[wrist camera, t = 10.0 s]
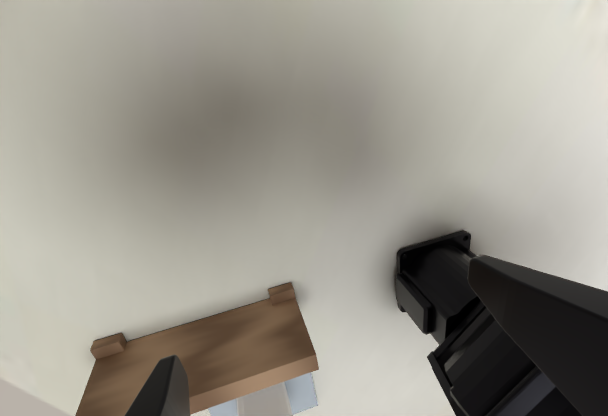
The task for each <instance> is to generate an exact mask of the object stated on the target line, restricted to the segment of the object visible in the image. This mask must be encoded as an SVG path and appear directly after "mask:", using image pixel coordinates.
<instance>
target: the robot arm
mask: <svg viewBox="0 0 608 416" xmlns="http://www.w3.org/2000/svg"><path fill="white" fill-rule="evenodd" d="M470 240H471V235H470V233H468V232H467V231H461V232H457V233H454V234H451V235H447V236H444V237H440V238H437V239H434V240H430V241H427V242H424V243H420V244H417V245H414V246H410V247H407V248H404V249H401V250H400V251H399V252H398V253H397V276H396V299H397V301H398V308H399V309H400V310H401V311H402V312H407V313H408V315H409V316H410V317H411V318H412V320H413V321H414V322H415V324H416V325H417V326H418V327H419V329H420V330H421V331H422V332H423V333H424V334H429V333H430V334H431V335H432V336H433V337H434V339H435V340H436V341H437V342H438V344H439V346H438V347H437V348H436V350H435V351H434V352H433V351H432V352H431V353H430V354H429V355H428V356H427V358H428V360H429V362H430V364H431V366H432V369H433V371H434V373H435V375H436V377H437V379H438V381H439V383H440V385H441V387H442V389H443V391H444V393H445V395H446V397H447V399H448V401H449V403H450V405H451V407H452V409H453V411H454V413H455V415H456V416H608V292H607V291H604V290H601V289H597V288H594V287H591V286H587V285H584V284H580V283H577V282H574V281H570V280H567V279H564V278H560V277H557V276H554V275H550V274H547V273H543V272H540V271H537V270H533V269H530V268H527V267H523V266H520V265H517V264H513V263H510V262H506V261H503V260H500V259H496V258H493V257H490V256H486V255H480V256H476V255H475V254H474V253H472V252H471V251H470ZM404 254H405V255H404ZM403 255H404V256H403ZM124 416H190V402H189V384H188V377H187V373H186V371H185V369H184V367H183V365H182V363H181V361H180V359H179V357H178V356H177V355H170V356H167V357H164V358H162V359H160V360H159V361H158V363H157V364H156V366H155V367H154V369H153V371H152V372H151V374H150V375H149V377H148V379H147V380H146V382H145V383H144V385H143V387H142V388H141V390H140V391H139V393H138V395H137V396H136V398H135V399H134V401H133V402H132V404H131V406H130V407H129V409H128V410H127V412H126V414H125V415H124Z"/></svg>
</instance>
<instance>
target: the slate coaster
mask: <svg viewBox="0 0 608 416" xmlns="http://www.w3.org/2000/svg"><path fill="white" fill-rule="evenodd" d="M284 383H285V387H286V390H287V394H288V398H289V402H290V406H291V410H292V414H293V415H294V414H296V413H299V412H302V411H305V410H307V409H310V408H313V407H315V406H318V403H317V398H316V393H315V388H314V384H313V379H312V374H311V372H310V373H307V374H304V375H301V376H299V377H296V378H293V379H290V380H287V381H284ZM208 410H209V412H210V414H211V416H238V412H237V400H236V399H233V400H230V401H228V402H225V403H222V404H219V405H216V406H213V407H210V408H208Z"/></svg>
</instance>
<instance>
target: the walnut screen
mask: <svg viewBox="0 0 608 416" xmlns="http://www.w3.org/2000/svg"><path fill="white" fill-rule="evenodd" d="M268 291H269V295H270V298H269V299H266V300H263V301H260V302H256V303H253V304H250V305H246V306H243V307H240V308H237V309H233V310H230V311H227V312H223V313H220V314H217V315H214V316H210V317H207V318H204V319H200V320H197V321H194V322H191V323H187V324H184V325H181V326H177V327H174V328H171V329H167V330H164V331H161V332H158V333H154V334H151V335H148V336H144V337H141V338H138V339H135V340H131V341H128V342H127V341H126V340H125V338H124V336H123V334H122V333H120V334H116V335H113V336H110V337H106V338H103V339H100V340H96V341H94V342H93V345H92V347H91V350H90V351H91V353H92V354H93V356H94V357H95V359H96V361H95V364H94V367H93V370H92V372H91V375H90V378H89V380H88V383H87V386H86V388H85V391H84V394H83V397H82V399H81V402H80V405H79V407H78V410H77V413H76V416H124V415H125V414H126V412H127V410H128V409H129V407H130V406H131V404H132V402H133V401H134V399H135V398H136V396H137V395H138V393H139V391H140V390H141V388H142V387H143V385H144V383H145V382H146V380H147V379H148V377H149V375H150V374H151V372H152V371H153V369H154V367H155V366H156V364H157V363H158V361H159V360H160V359H162V358H164V357H167V356H170V355H177V356H178V357H179V359H180V361H181V363H182V365H183V367H184V369H185V371H186V373H187V377H188V384H189V402H190V415H191V414H193V413H196V412H199V411H202V410H205V409H208V408H210V407H213V406H216V405H219V404H222V403H225V402H228V401H230V400H233V399H236V398H239V397H242V396H245V395H247V394H250V393H253V392H256V391H259V390H262V389H264V388H267V387H270V386H273V385H276V384H279V383H282V382H284V381H287V380H290V379H293V378H296V377H299V376H301V375H304V374H307V373H310V372H313V371H316V370H318V369H319V367H318V362H317V357H316V353H315V350H314V348H313V345H312V342H311V339H310V337H309V334H308V331H307V328H306V326H305V323H304V320H303V317H302V315H301V312H300V309H299V306H298V304H297V301H296V298H295V293H294V289H293V286H292V283H291V282H290V283H287V284H284V285H280V286H277V287H274V288H270V289H268Z"/></svg>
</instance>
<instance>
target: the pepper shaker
mask: <svg viewBox="0 0 608 416" xmlns="http://www.w3.org/2000/svg"><path fill="white" fill-rule="evenodd" d="M236 400H237V412H238V416H293V414H292V410H291V406H290V402H289V398H288V394H287V390H286V387H285V383H284V382H282V383H279V384H276V385H273V386H270V387H267V388H264V389H262V390H259V391H256V392H253V393H250V394H247V395H245V396H242V397H239V398H236Z"/></svg>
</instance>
